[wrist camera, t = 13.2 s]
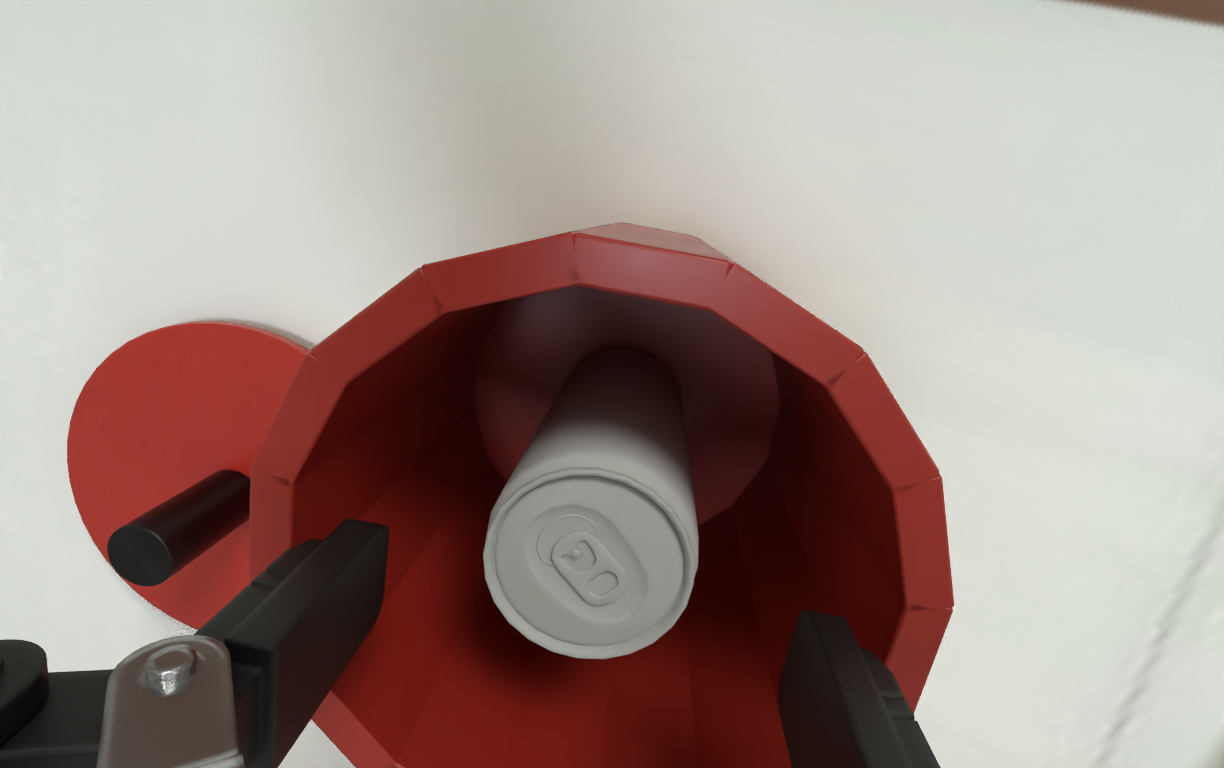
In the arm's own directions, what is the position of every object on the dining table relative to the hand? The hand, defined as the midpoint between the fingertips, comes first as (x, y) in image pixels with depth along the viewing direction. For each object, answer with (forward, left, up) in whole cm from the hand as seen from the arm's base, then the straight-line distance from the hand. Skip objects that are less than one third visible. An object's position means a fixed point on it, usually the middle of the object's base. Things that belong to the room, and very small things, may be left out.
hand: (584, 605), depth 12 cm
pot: (0, 0, -14) cm, 14 cm away
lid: (-6, -16, -13) cm, 22 cm away
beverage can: (0, 0, -14) cm, 14 cm away
